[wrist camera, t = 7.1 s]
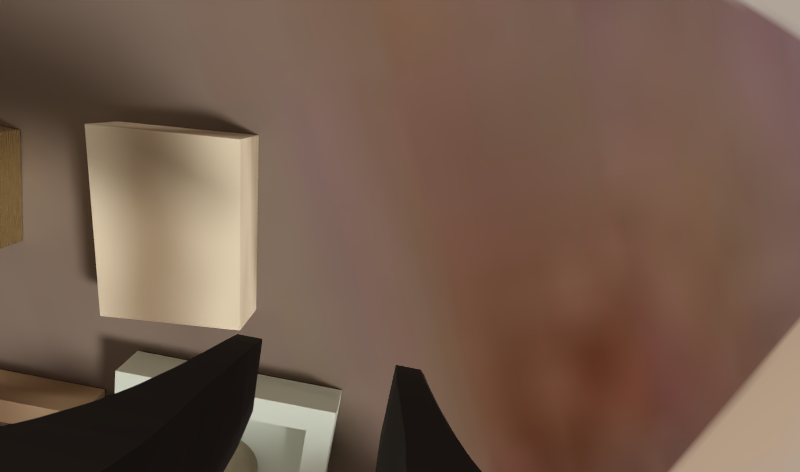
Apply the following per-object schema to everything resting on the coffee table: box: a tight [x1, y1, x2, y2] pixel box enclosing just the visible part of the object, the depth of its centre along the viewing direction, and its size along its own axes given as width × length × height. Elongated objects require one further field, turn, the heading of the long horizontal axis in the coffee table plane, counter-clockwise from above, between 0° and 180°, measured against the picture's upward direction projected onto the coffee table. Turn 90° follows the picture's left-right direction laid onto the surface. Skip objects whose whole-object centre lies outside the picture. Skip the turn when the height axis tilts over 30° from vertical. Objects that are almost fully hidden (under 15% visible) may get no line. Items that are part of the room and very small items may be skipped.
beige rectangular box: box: [85, 121, 259, 330], centre depth 21 cm, size 6×8×2 cm
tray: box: [115, 351, 342, 472], centre depth 24 cm, size 10×10×2 cm
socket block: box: [0, 369, 105, 424], centre depth 24 cm, size 7×7×2 cm
